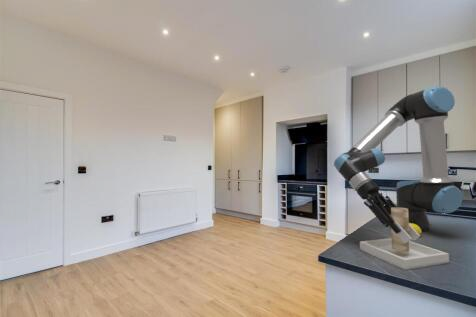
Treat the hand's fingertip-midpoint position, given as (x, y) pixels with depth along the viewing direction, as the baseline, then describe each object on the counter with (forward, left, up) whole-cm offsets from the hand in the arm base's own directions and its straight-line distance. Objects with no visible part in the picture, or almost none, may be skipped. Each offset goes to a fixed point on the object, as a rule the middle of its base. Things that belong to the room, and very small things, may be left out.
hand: (412, 239), depth 81 cm
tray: (+1, -4, -7) cm, 8 cm away
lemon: (-25, -21, -7) cm, 33 cm away
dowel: (+1, -4, -4) cm, 6 cm away
